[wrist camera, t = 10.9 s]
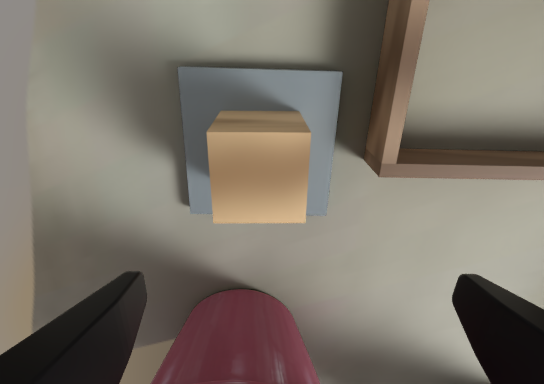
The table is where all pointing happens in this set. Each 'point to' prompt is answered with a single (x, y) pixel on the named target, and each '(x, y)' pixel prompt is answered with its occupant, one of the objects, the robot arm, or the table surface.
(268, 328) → the plant pot
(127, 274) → the robot arm
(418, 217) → the table surface
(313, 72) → the slate pad
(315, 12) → the table surface
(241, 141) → the beech block
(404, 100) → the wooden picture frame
